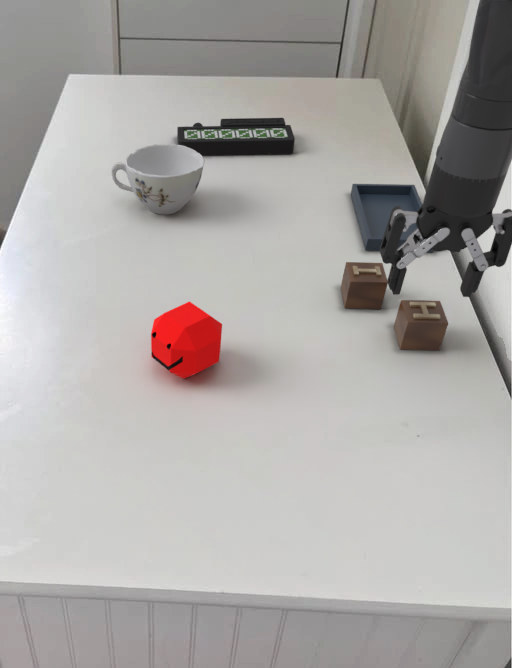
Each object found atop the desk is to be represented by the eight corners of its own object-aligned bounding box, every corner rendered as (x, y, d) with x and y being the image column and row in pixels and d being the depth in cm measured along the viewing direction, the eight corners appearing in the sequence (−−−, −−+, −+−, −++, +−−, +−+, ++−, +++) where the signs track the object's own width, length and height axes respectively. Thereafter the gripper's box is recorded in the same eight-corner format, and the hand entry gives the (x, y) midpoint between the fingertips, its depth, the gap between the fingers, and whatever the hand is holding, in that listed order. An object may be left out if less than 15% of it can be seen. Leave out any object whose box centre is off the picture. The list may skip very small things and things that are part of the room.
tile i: (375, 289, 102) (382, 260, 99) (381, 309, 99) (388, 280, 95) (340, 288, 102) (346, 259, 99) (344, 308, 99) (350, 279, 96)
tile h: (431, 327, 96) (440, 298, 92) (439, 350, 92) (449, 321, 89) (393, 326, 96) (401, 297, 93) (399, 349, 93) (408, 320, 89)
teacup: (207, 192, 123) (209, 144, 117) (196, 228, 114) (198, 178, 109) (121, 185, 125) (119, 138, 119) (105, 220, 117) (102, 171, 111)
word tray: (411, 196, 121) (414, 184, 119) (433, 252, 109) (437, 240, 107) (350, 195, 121) (352, 183, 120) (365, 251, 109) (367, 238, 108)
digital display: (288, 114, 137) (295, 137, 130) (286, 132, 139) (293, 155, 133) (177, 116, 137) (179, 139, 130) (176, 134, 139) (178, 157, 133)
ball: (141, 361, 92) (140, 311, 86) (190, 338, 95) (191, 288, 89) (181, 394, 87) (182, 343, 82) (230, 368, 90) (234, 317, 85)
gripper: (411, 175, 75) (376, 308, 87) (551, 178, 74) (496, 311, 86) (398, 145, 80) (367, 274, 92) (529, 147, 79) (480, 277, 91)
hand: (429, 292), depth 89 cm, fingers open, 8 cm apart
